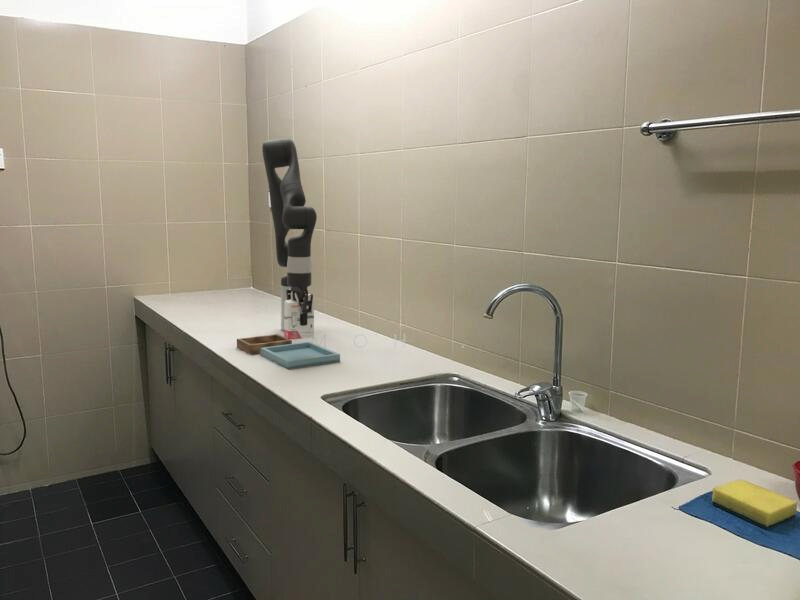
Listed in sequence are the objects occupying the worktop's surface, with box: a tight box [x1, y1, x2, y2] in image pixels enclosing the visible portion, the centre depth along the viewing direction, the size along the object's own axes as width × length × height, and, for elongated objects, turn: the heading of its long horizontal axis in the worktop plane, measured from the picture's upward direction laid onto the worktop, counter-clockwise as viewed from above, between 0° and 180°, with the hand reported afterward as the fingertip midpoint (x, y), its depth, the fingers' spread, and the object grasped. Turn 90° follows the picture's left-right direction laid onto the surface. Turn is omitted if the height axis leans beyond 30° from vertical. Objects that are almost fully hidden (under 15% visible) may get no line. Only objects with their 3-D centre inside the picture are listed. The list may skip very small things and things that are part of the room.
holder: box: [236, 333, 293, 355], centre depth 223 cm, size 15×11×3 cm
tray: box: [259, 341, 341, 370], centre depth 211 cm, size 18×20×2 cm
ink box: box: [283, 300, 315, 340], centre depth 209 cm, size 9×5×12 cm, turn 116°
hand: (299, 323), depth 209 cm, fingers closed on ink box, 5 cm apart
